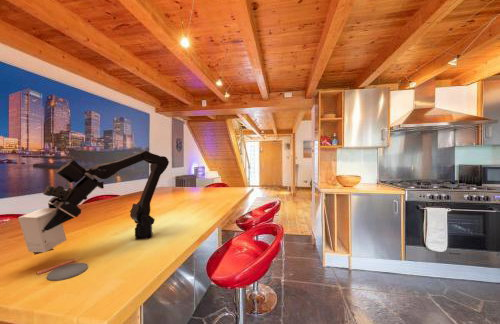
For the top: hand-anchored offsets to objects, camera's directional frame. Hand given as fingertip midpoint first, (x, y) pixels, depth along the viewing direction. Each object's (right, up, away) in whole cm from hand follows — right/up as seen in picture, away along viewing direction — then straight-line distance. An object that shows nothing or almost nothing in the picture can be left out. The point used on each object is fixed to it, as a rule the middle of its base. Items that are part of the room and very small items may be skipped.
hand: (42, 227), depth 73 cm
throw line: (+6, -13, -1) cm, 15 cm away
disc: (+13, -13, -4) cm, 19 cm away
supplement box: (+1, -7, +2) cm, 7 cm away
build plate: (-14, -14, +14) cm, 24 cm away
